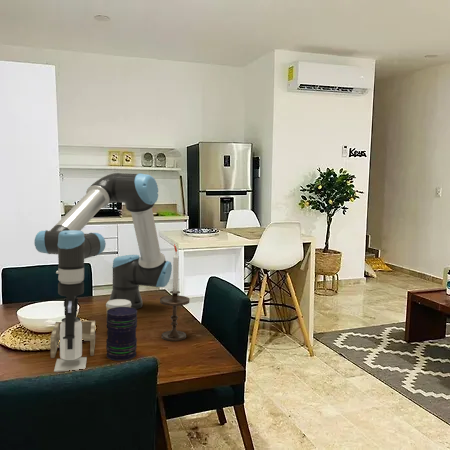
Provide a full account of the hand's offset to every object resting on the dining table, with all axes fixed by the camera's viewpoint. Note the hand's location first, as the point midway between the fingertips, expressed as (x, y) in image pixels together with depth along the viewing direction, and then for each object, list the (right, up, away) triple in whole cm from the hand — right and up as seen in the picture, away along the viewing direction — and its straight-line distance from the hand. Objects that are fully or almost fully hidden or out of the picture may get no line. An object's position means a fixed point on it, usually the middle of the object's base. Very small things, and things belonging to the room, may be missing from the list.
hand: (71, 354), depth 142 cm
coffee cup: (+8, -1, +30) cm, 31 cm away
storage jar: (+13, -3, +10) cm, 17 cm away
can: (0, -1, 0) cm, 1 cm away
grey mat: (0, -3, 0) cm, 3 cm away
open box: (-4, -2, +14) cm, 14 cm away
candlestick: (+29, -2, +28) cm, 40 cm away
